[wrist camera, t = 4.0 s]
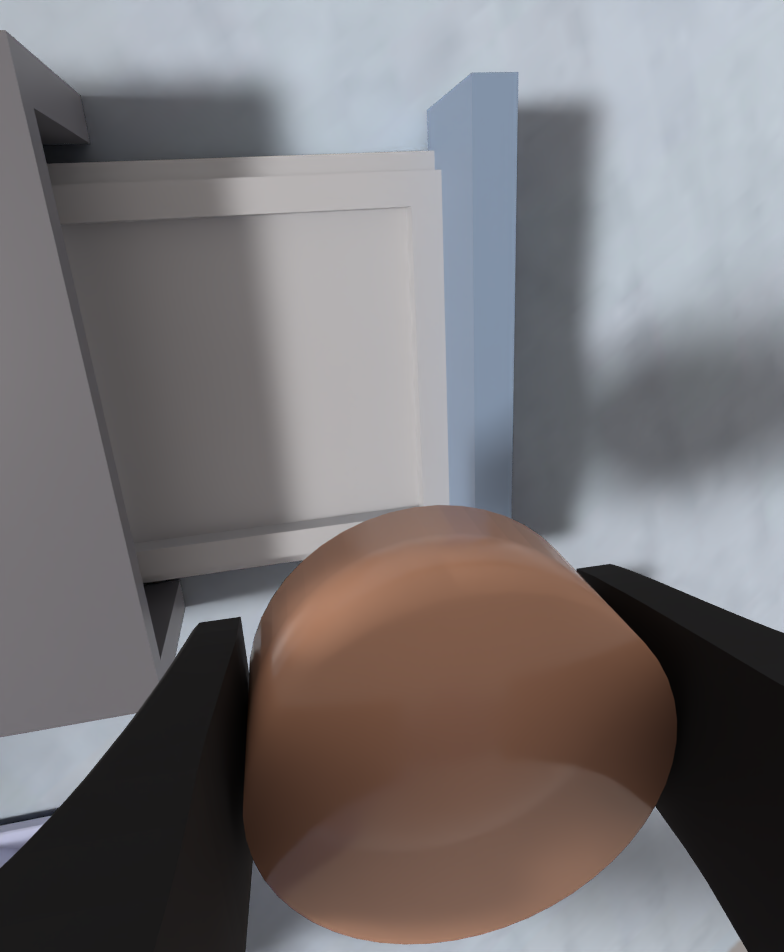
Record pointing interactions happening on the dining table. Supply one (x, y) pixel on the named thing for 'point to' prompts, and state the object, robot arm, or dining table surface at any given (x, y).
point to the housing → (60, 456)
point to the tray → (302, 334)
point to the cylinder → (445, 729)
